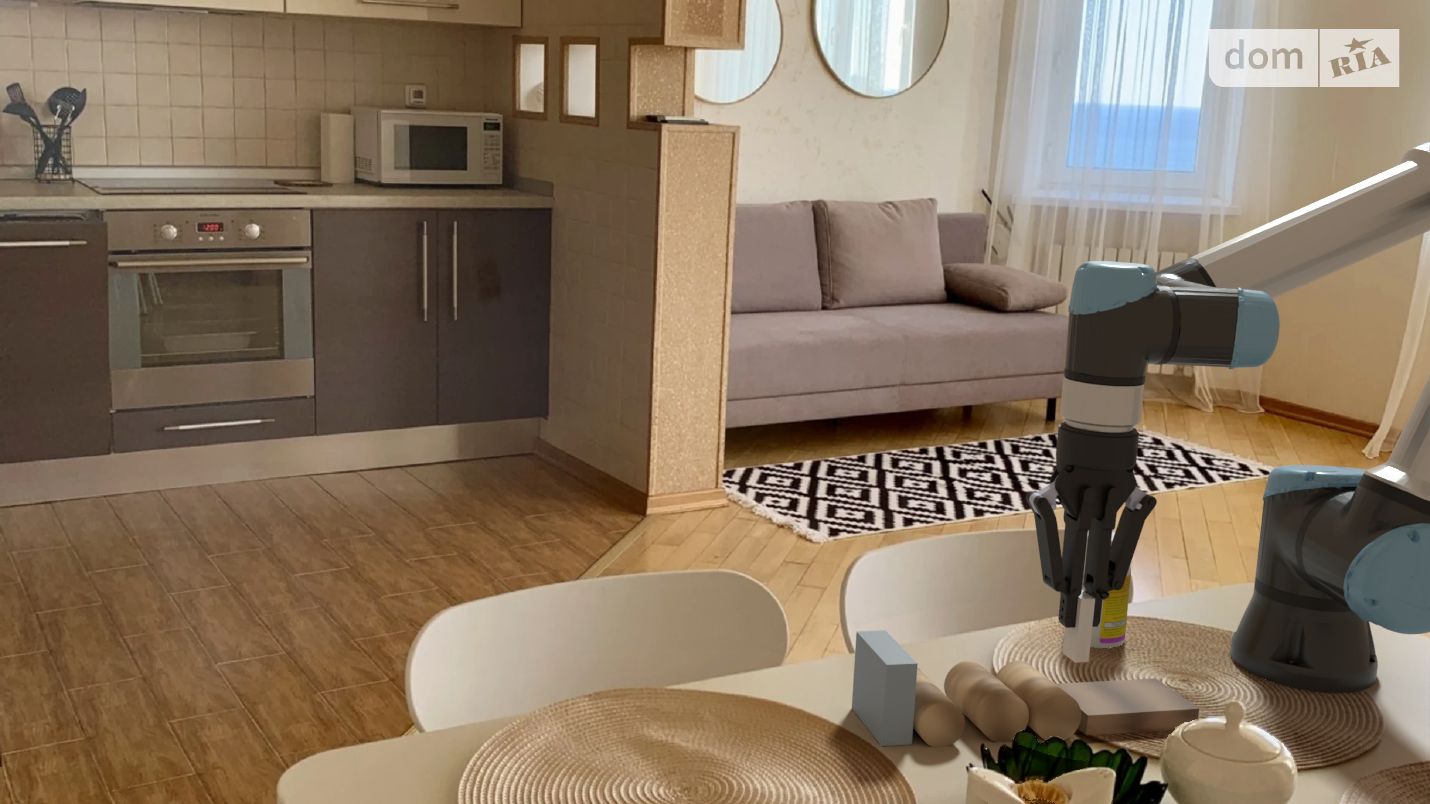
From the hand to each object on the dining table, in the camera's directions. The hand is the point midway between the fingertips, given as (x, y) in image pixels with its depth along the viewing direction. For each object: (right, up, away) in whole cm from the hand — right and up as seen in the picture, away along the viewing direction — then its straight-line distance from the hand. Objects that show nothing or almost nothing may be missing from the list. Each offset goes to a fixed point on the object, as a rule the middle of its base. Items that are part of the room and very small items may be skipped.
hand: (1075, 657), depth 139 cm
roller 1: (-14, -3, -3) cm, 14 cm away
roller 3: (-4, -2, -2) cm, 4 cm away
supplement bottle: (+8, -3, +23) cm, 24 cm away
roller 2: (-12, -5, -2) cm, 13 cm away
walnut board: (+5, -7, +2) cm, 9 cm away
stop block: (-20, -6, -3) cm, 21 cm away
